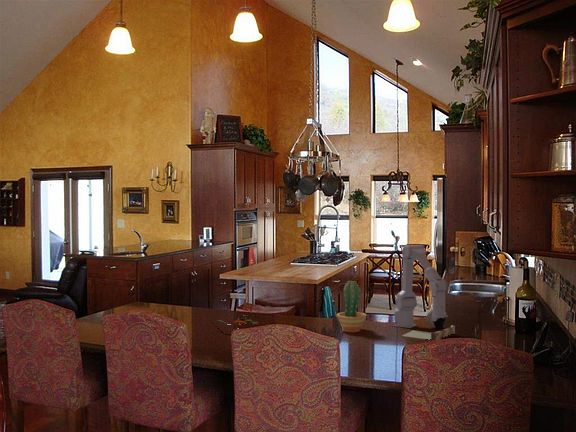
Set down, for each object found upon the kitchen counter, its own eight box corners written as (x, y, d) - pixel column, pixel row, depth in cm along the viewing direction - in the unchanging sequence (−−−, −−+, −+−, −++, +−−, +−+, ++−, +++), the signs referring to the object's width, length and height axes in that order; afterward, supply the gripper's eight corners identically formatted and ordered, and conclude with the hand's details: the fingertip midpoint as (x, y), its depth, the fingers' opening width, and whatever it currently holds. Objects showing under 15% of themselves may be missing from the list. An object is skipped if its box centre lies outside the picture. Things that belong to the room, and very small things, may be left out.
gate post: (450, 334, 259) (450, 325, 259) (451, 334, 261) (451, 325, 261) (454, 335, 258) (454, 326, 258) (455, 334, 260) (455, 325, 260)
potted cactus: (371, 328, 275) (371, 280, 275) (358, 334, 262) (357, 284, 262) (345, 325, 284) (344, 278, 283) (330, 331, 271) (330, 282, 271)
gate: (433, 341, 245) (433, 333, 245) (431, 340, 246) (431, 333, 246) (452, 334, 258) (452, 327, 258) (450, 333, 259) (450, 327, 259)
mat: (401, 336, 258) (401, 335, 258) (413, 330, 269) (413, 330, 269) (429, 340, 250) (429, 339, 250) (440, 334, 261) (440, 333, 261)
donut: (428, 329, 272) (428, 309, 272) (425, 328, 275) (424, 308, 275) (445, 327, 275) (445, 308, 275) (441, 326, 278) (441, 307, 278)
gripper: (441, 308, 246) (442, 337, 246) (452, 303, 258) (452, 331, 258) (427, 307, 250) (427, 336, 250) (437, 302, 262) (438, 330, 262)
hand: (439, 333), depth 254 cm, fingers closed
